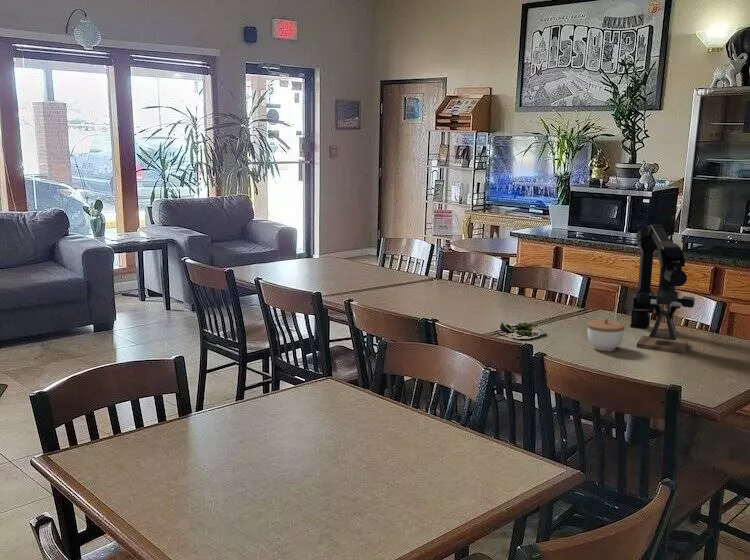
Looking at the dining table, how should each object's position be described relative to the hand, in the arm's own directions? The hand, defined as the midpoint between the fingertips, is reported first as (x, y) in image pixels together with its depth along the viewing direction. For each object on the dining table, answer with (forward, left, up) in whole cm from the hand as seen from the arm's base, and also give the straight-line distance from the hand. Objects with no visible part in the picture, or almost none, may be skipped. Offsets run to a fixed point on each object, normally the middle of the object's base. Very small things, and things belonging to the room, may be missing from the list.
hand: (664, 322), depth 257 cm
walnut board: (0, 0, -9) cm, 9 cm away
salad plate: (-51, -9, -10) cm, 53 cm away
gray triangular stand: (0, 0, -6) cm, 6 cm away
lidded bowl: (-18, -13, -9) cm, 24 cm away
